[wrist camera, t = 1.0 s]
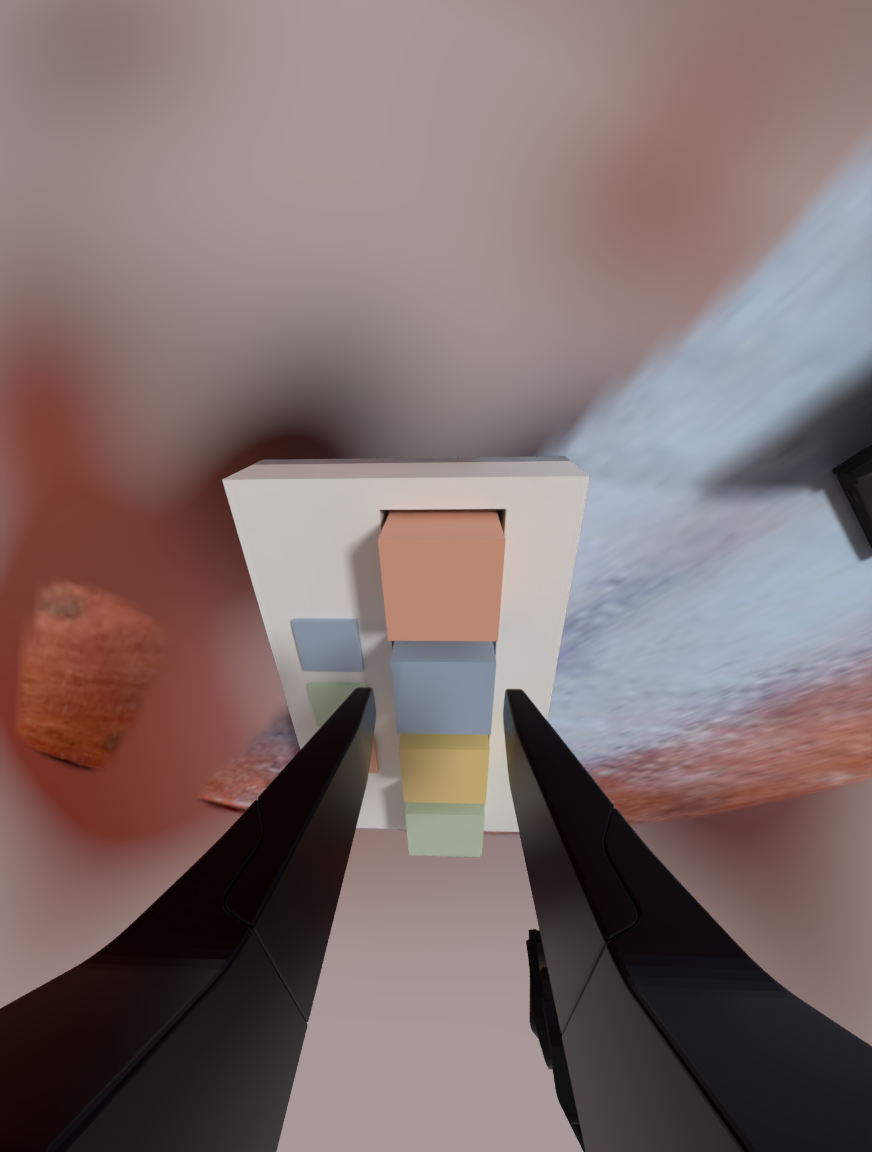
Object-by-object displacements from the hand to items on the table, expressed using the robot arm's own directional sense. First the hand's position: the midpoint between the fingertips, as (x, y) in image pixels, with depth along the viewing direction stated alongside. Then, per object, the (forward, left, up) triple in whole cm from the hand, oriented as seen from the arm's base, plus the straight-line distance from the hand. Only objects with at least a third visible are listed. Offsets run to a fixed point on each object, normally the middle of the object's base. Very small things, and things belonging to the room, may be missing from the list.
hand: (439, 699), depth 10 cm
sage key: (-16, 0, -9) cm, 19 cm away
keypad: (-8, +2, -11) cm, 14 cm away
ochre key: (-11, 0, -9) cm, 14 cm away
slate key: (-5, 0, -9) cm, 10 cm away
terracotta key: (0, 0, -9) cm, 9 cm away
